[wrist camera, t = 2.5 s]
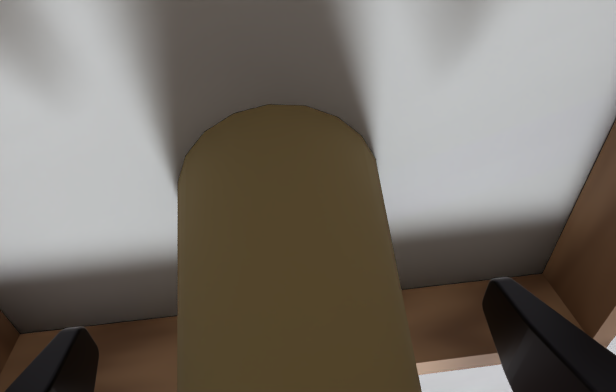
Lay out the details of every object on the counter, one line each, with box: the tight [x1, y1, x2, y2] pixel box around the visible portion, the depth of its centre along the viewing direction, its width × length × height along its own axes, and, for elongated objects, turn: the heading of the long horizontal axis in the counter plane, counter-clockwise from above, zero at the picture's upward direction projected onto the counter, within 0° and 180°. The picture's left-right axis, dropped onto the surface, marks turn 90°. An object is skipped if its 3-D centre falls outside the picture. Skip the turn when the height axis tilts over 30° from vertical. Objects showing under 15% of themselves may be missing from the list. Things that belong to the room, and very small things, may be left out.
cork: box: [177, 104, 422, 392], centre depth 8 cm, size 6×6×11 cm
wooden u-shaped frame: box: [0, 120, 616, 392], centre depth 11 cm, size 22×12×3 cm, turn 92°
